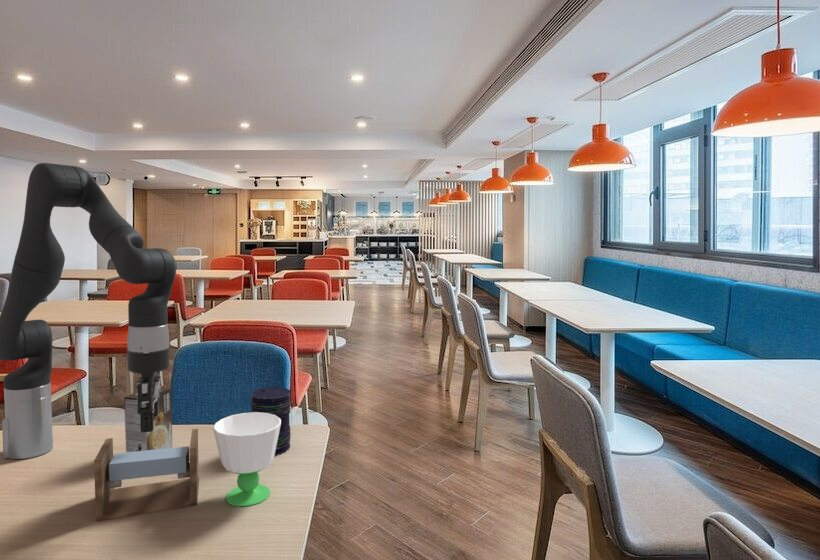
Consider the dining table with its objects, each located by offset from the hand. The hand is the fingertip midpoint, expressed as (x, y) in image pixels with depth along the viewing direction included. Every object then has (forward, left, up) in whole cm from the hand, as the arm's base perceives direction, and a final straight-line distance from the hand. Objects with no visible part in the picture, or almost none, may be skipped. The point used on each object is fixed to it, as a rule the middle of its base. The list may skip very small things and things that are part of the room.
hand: (149, 423), depth 102 cm
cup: (+19, -5, -16) cm, 26 cm away
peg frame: (0, 0, -16) cm, 16 cm away
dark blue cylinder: (+26, +18, -16) cm, 36 cm away
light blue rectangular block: (0, 0, -10) cm, 10 cm away
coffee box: (-3, +24, -16) cm, 29 cm away
